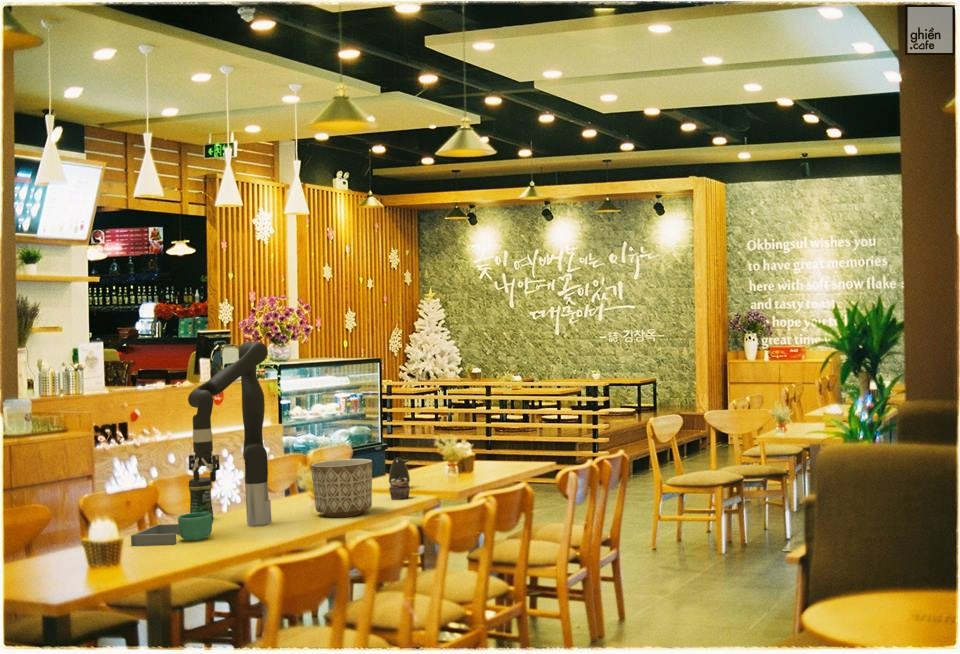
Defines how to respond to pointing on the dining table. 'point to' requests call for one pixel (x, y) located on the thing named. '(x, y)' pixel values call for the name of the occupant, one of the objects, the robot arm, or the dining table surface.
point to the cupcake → (399, 488)
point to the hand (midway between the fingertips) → (204, 481)
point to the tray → (156, 535)
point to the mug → (195, 526)
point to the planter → (342, 486)
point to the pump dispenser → (399, 469)
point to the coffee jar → (200, 495)
